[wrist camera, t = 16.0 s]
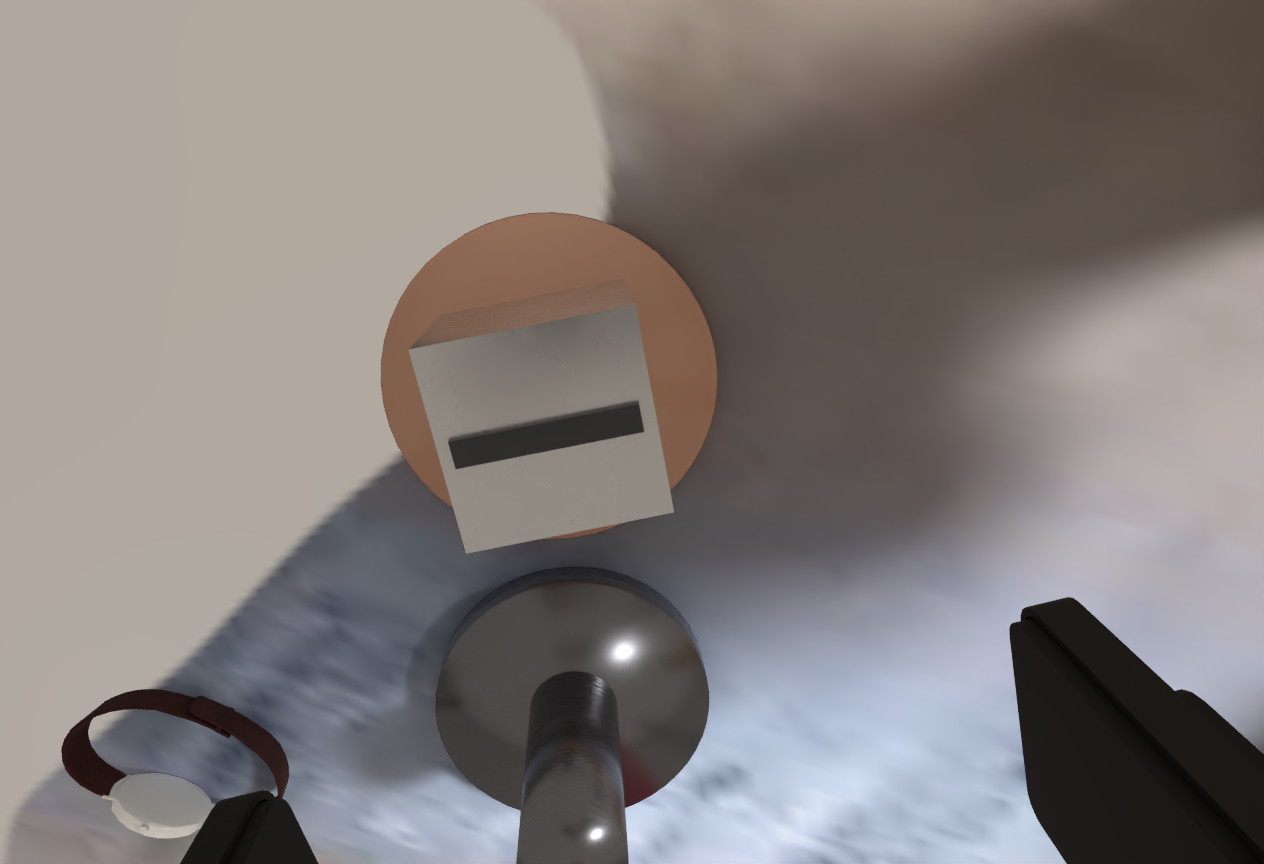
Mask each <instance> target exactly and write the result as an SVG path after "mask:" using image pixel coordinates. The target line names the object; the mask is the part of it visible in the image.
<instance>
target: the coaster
mask: <svg viewBox="0 0 1264 864" xmlns="http://www.w3.org/2000/svg"><path fill="white" fill-rule="evenodd" d="M624 278H625V280H626V282H627V285H628V287H629V290H630V292H631V295H632V297H633V300H634V302H635V305H636V310H637V316H638V321H639V327H640V332H641V337H642V343H643V348H644V353H645V359H646V364H647V369H648V375H649V380H650V385H651V391H652V396H653V401H654V407H655V412H656V418H657V423H658V428H659V434H660V439H661V444H662V450H663V455H664V460H665V466H666V471H667V476H668V482H669V487H670V490H671V489H672V488H673V487H674V486H675V485H676V484H677V483H678V482H679V481H680V480H681V479H682V477H683V476H684V475H685V473H686V472H687V471H688V469H689V468H690V467H691V465H692V464H693V462H694V460H695V458H696V457H697V455H698V453H699V452H700V450H701V448H702V446H703V443H704V441H705V438H706V436H707V434H708V431H709V428H710V425H711V421H712V417H713V414H714V410H715V403H716V395H717V362H716V355H715V348H714V344H713V340H712V337H711V333H710V329H709V326H708V324H707V321H706V319H705V317H704V314H703V312H702V310H701V307H700V305H699V304H698V302H697V300H696V299H695V297H694V295H693V294H692V292H691V290H690V289H689V287H688V286H687V285H686V283H685V282H684V281H683V280H682V278H681V277H680V276H679V275H678V273H677V272H676V271H675V270H674V268H673V267H672V266H671V265H670V264H669V263H668V262H666V261H665V260H664V259H663V258H662V257H661V256H660V255H659V254H658V253H657V252H656V251H655V250H653V249H652V248H650V247H649V246H648V245H646V244H645V243H644V242H642V241H641V240H640V239H638V238H636V237H634V236H633V235H631V234H629V233H627V232H625V231H623V230H622V229H620V228H618V227H615V226H612V225H610V224H607V223H604V222H602V221H599V220H596V219H592V218H587V217H583V216H579V215H573V214H564V213H552V212H551V213H529V214H523V215H517V216H511V217H507V218H503V219H500V220H497V221H494V222H491V223H488V224H485V225H483V226H481V227H479V228H477V229H475V230H472V231H470V232H469V233H466V234H464V235H463V236H462V237H460V238H458V239H457V240H455V241H454V242H453V243H451V244H449V245H448V246H446V247H445V248H443V249H442V250H441V251H440V252H439V253H438V254H437V255H436V256H434V257H433V258H432V259H431V260H430V261H429V262H427V263H426V264H425V265H424V267H423V268H422V269H421V270H420V272H419V273H418V274H417V275H416V276H415V277H414V279H413V280H412V281H411V282H410V284H409V285H408V287H407V289H406V290H405V292H404V293H403V295H402V296H401V298H400V300H399V302H398V304H397V306H396V308H395V311H394V313H393V315H392V317H391V319H390V323H389V326H388V329H387V333H386V336H385V340H384V346H383V353H382V359H381V388H382V395H383V404H384V408H385V412H386V415H387V419H388V423H389V426H390V428H391V431H392V433H393V436H394V438H395V440H396V443H397V445H398V447H399V449H400V450H401V452H402V454H403V456H404V457H405V459H406V461H407V462H408V464H409V465H410V467H411V468H412V469H413V470H414V472H415V473H416V474H417V476H418V477H419V478H420V480H421V481H422V482H423V483H424V484H425V485H426V486H427V487H428V488H429V489H430V490H431V491H432V492H433V493H434V494H435V495H436V496H437V497H439V498H440V499H441V500H443V501H444V502H445V503H446V504H448V505H449V506H450V507H452V508H453V506H452V503H451V499H450V496H449V492H448V489H447V485H446V481H445V478H444V474H443V471H442V467H441V464H440V460H439V457H438V453H437V450H436V446H435V442H434V439H433V435H432V432H431V428H430V425H429V421H428V418H427V414H426V411H425V407H424V404H423V400H422V396H421V393H420V389H419V386H418V382H417V379H416V375H415V372H414V368H413V365H412V361H411V357H410V354H409V350H408V349H409V348H410V347H411V346H412V345H413V344H414V343H415V342H416V340H417V339H418V338H419V337H420V336H421V335H422V334H423V333H424V332H425V330H426V329H427V328H428V327H429V326H430V325H431V324H432V323H433V321H434V320H435V319H436V318H437V317H438V316H439V315H442V314H447V313H452V312H457V311H462V310H467V309H472V308H477V307H482V306H487V305H492V304H498V303H503V302H508V301H513V300H518V299H523V298H528V297H533V296H538V295H543V294H548V293H553V292H558V291H563V290H568V289H573V288H578V287H583V286H588V285H593V284H598V283H603V282H608V281H614V280H619V279H624ZM624 523H625V522H624ZM620 524H622V523H619V524H614V525H609V526H604V527H599V528H594V529H589V530H584V531H579V532H574V533H568V534H563V535H558V536H553V537H548V538H543V539H560V538H574V537H579V536H585V535H590V534H594V533H598V532H601V531H604V530H608V529H611V528H613V527H616V526H618V525H620Z"/></svg>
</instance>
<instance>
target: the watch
mask: <svg viewBox="0 0 1264 864" xmlns="http://www.w3.org/2000/svg"><path fill="white" fill-rule="evenodd" d="M125 709H146V710H157V711H161V712H164V713H167V714H171V715H174V716H177V717H181V718H184V719H187V720H190V721H193V722H196V723H198V724H200V725H203V726H205V727H208V728H210V729H212V730H214V731H215V732H217V733H219V734H221V735H223V736H225V737H227V738H229V737H230V736H231V735H233V736H235V737H236V738H238V739H239V740H241V741H242V742H243V743H244V744H246V745H247V746H248V747H249V748H251V749H252V750H253V751H254V752H256V753H257V754H258V755H259V756H260V757H261V758H262V759H263V760H264V761H265V762H266V763H267V764H268V766H269V767H270V769H271V771H272V773H273V774H274V777H275V780H276V783H277V787H278V795H277V796H276V797H275V798H276V799H282V798H283V794H284V791H285V788H286V785H287V783H288V778H289V765H288V762H287V758H286V754H285V753H284V751H283V749H282V747H281V745H280V743H279V742H278V741H277V740H276V739H275V738H274V737H273V736H272V735H271V734H270V733H269V732H267V731H266V730H264V729H263V728H262V727H260V726H259V725H257V724H256V723H254V722H253V721H251V720H250V719H249V718H247V717H245V716H243V715H242V714H240V713H238V712H236V711H234V709H233V708H232V707H231V708H229V707H227V706H224V705H222V704H220V703H218V702H216V701H213V700H211V699H208V698H206V697H203V696H199V697H198V698H196V699H195V698H192V697H189V696H186V695H182V694H179V693H174V692H169V691H164V690H150V689H145V690H135V691H130V692H126V693H123V694H120V695H118V696H115V697H113V698H111V699H109V700H107V701H105V702H104V703H103V704H101V705H100V706H99V707H98V708H97V709H95V710H94V711H93V712H92V713H90V714H89V715H88V716H86V717H85V718H84V719H83V720H81V721H80V722H79V723H78V724H76V726H74V727H73V728H72V729H71V730H70V732H69V733H68V734H67V736H66V738H65V739H64V742H63V745H62V761H63V764H64V766H65V769H66V771H67V772H68V773H69V775H70V776H71V777H72V778H73V779H74V780H75V781H76V782H77V783H78V784H80V785H81V786H82V787H84V788H86V789H88V790H89V791H91V792H93V793H95V794H98V795H100V796H102V799H107V800H112V803H113V804H112V808H111V810H112V812H113V813H114V815H115V816H116V818H117V819H118V820H119V821H120V822H121V823H122V824H123V825H124V826H126V827H127V828H128V829H130V830H132V831H135V832H137V833H140V834H142V835H144V836H148V837H153V838H178V837H184V836H189V835H191V834H192V833H193V832H195V831H196V830H197V829H199V830H200V829H201V827H202V825H203V824H204V822H205V820H206V818H207V817H208V815H209V813H210V811H211V810H212V809H213V807H214V806H215V805H216V804H214V803H212V802H211V800H210V798H209V797H208V796H207V795H206V794H205V793H204V791H203V790H202V789H201V788H200V787H198V786H196V785H194V784H193V783H191V782H189V781H187V780H185V779H183V778H179V777H176V776H172V775H167V774H161V773H147V774H136V775H132V776H131V775H128V774H126V773H123V772H121V771H119V770H117V769H115V768H114V767H112V766H110V765H109V764H107V763H106V762H105V761H104V760H102V759H101V758H100V757H99V756H98V755H97V753H96V752H95V751H94V749H93V748H92V746H91V743H90V740H89V737H88V729H89V725H90V722H91V720H92V719H93V718H94V717H96V716H98V715H101V714H105V713H108V712H112V711H118V710H125Z"/></svg>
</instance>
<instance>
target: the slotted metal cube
mask: <svg viewBox="0 0 1264 864" xmlns="http://www.w3.org/2000/svg"><path fill="white" fill-rule="evenodd" d="M408 350H409V354H410V357H411V361H412V365H413V368H414V372H415V375H416V379H417V382H418V386H419V389H420V393H421V396H422V400H423V404H424V407H425V411H426V414H427V418H428V421H429V425H430V428H431V432H432V435H433V439H434V442H435V446H436V450H437V453H438V457H439V460H440V464H441V467H442V471H443V474H444V478H445V481H446V485H447V489H448V492H449V496H450V499H451V503H452V506H453V510H454V513H455V517H456V520H457V524H458V528H459V531H460V535H461V538H462V542H463V545H464V549H465V552H466V554H468V553H473V552H478V551H483V550H488V549H493V548H498V547H503V546H508V545H513V544H518V543H523V542H528V541H533V540H538V539H543V538H548V537H553V536H558V535H563V534H568V533H574V532H579V531H584V530H589V529H594V528H599V527H604V526H609V525H614V524H619V523H624V522H629V521H634V520H639V519H644V518H649V517H654V516H659V515H664V514H669V513H674V508H673V503H672V498H671V492H670V487H669V482H668V476H667V471H666V466H665V460H664V455H663V450H662V444H661V439H660V434H659V428H658V423H657V418H656V412H655V407H654V401H653V396H652V391H651V385H650V380H649V375H648V369H647V364H646V359H645V353H644V348H643V343H642V337H641V332H640V327H639V321H638V316H637V310H636V305H635V302H634V300H633V297H632V295H631V292H630V290H629V287H628V285H627V282H626V280H625V278H624V279H619V280H614V281H608V282H603V283H598V284H593V285H588V286H583V287H578V288H573V289H568V290H563V291H558V292H553V293H548V294H543V295H538V296H533V297H528V298H523V299H518V300H513V301H508V302H503V303H498V304H492V305H487V306H482V307H477V308H472V309H467V310H462V311H457V312H452V313H447V314H442V315H439V316H438V317H437V318H436V319H435V320H434V321H433V323H432V324H431V325H430V326H429V327H428V328H427V329H426V330H425V332H424V333H423V334H422V335H421V336H420V337H419V338H418V339H417V340H416V342H415V343H414V344H413V345H412V346H411V347H410V348H409V349H408Z"/></svg>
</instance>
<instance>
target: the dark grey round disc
mask: <svg viewBox="0 0 1264 864" xmlns="http://www.w3.org/2000/svg"><path fill="white" fill-rule="evenodd" d="M708 710H709V690H708V683H707V677H706V673H705V669H704V665H703V661H702V657H701V653H700V650H699V647H698V644H697V641H696V638H695V636H694V634H693V632H692V630H691V628H690V626H689V625H688V624H687V622H686V621H685V619H684V618H683V616H682V615H681V614H680V613H679V611H678V610H677V609H676V608H675V607H674V606H673V605H672V604H671V603H670V602H669V601H668V600H667V599H665V598H664V597H663V596H662V595H660V594H659V593H658V592H656V591H655V590H653V589H652V588H650V587H648V586H647V585H645V584H643V583H641V582H639V581H637V580H635V579H632V578H630V577H628V576H625V575H621V574H618V573H615V572H612V571H607V570H601V569H596V568H583V567H568V568H555V569H550V570H544V571H539V572H536V573H532V574H529V575H526V576H523V577H520V578H518V579H516V580H514V581H511V582H509V583H507V584H505V585H503V586H502V587H500V588H498V589H497V590H495V591H493V592H492V593H491V594H489V595H488V596H487V597H485V598H484V599H483V600H482V601H480V602H479V603H478V604H477V605H476V606H475V607H474V608H473V609H472V610H471V611H470V612H469V613H468V614H467V616H466V617H465V618H464V620H463V621H462V622H461V624H460V625H459V627H458V628H457V630H456V632H455V634H454V636H453V637H452V639H451V641H450V644H449V647H448V650H447V653H446V655H445V659H444V663H443V666H442V670H441V674H440V678H439V682H438V687H437V693H436V717H437V725H438V728H439V732H440V735H441V739H442V741H443V744H444V746H445V748H446V750H447V752H448V754H449V756H450V757H451V759H452V760H453V762H454V763H455V765H456V766H457V768H458V769H459V770H460V771H461V772H462V773H463V774H464V776H465V777H466V778H467V779H468V780H469V781H471V782H472V783H473V784H474V785H475V786H476V787H477V788H479V789H480V790H481V791H483V792H484V793H486V794H487V795H489V796H490V797H492V798H494V799H495V800H497V801H499V802H501V803H503V804H505V805H507V806H510V807H513V808H515V809H518V810H521V816H520V828H519V839H518V851H517V863H516V864H628V846H627V833H626V819H625V808H626V807H629V806H631V805H633V804H636V803H638V802H640V801H642V800H644V799H645V798H647V797H649V796H651V795H653V794H654V793H655V792H657V791H658V790H660V789H661V788H663V787H664V786H665V785H666V784H668V783H669V782H670V781H671V780H672V779H673V778H674V777H675V776H676V775H677V774H678V773H679V772H680V771H681V770H682V769H683V767H684V766H685V765H686V764H687V763H688V761H689V760H690V758H691V757H692V755H693V754H694V752H695V751H696V749H697V746H698V744H699V742H700V740H701V738H702V736H703V732H704V729H705V726H706V723H707V717H708Z"/></svg>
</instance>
